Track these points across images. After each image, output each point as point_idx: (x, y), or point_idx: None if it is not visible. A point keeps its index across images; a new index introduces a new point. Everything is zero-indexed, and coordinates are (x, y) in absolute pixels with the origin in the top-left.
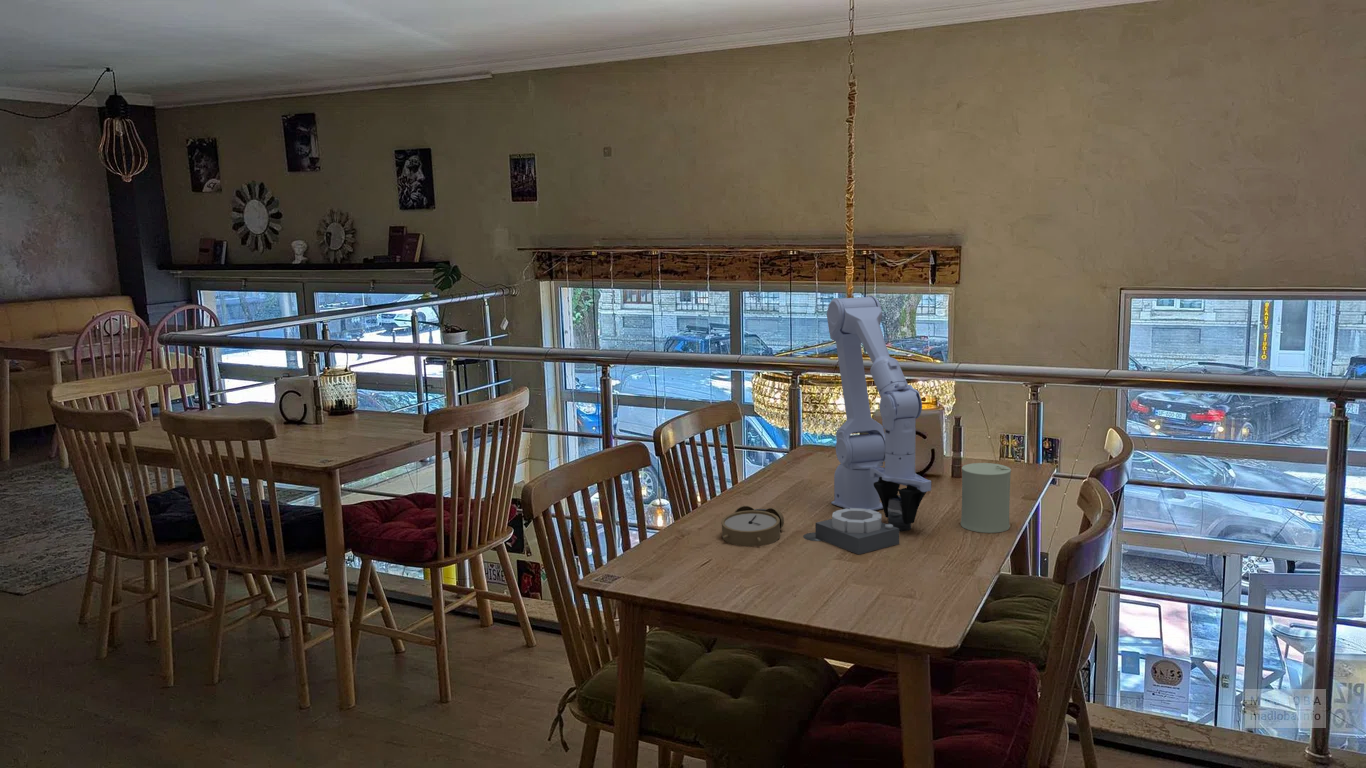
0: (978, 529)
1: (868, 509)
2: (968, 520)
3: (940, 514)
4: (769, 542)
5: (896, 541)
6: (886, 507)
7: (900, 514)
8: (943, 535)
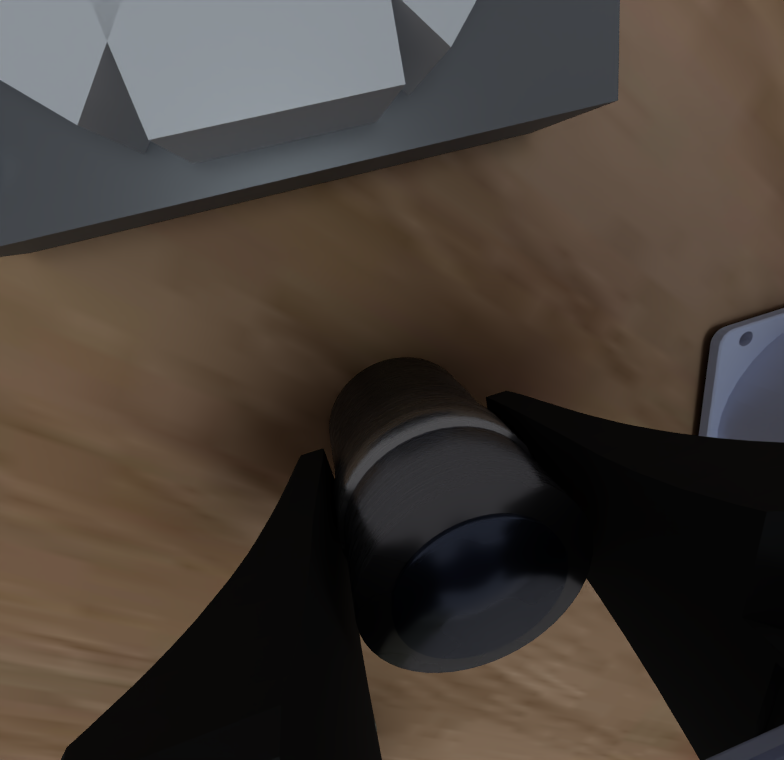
0: None
1: (394, 59)
2: None
3: None
4: None
5: None
6: (530, 426)
7: (344, 465)
8: (178, 583)
